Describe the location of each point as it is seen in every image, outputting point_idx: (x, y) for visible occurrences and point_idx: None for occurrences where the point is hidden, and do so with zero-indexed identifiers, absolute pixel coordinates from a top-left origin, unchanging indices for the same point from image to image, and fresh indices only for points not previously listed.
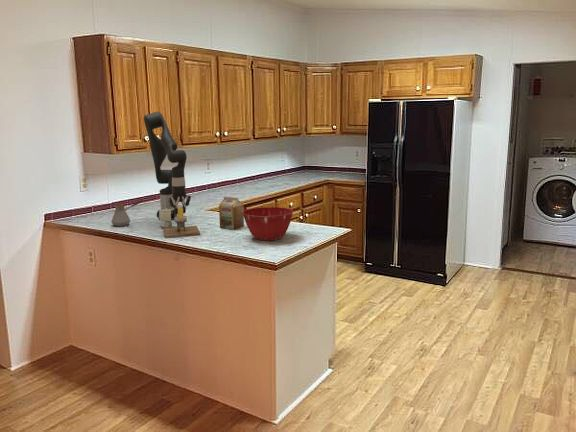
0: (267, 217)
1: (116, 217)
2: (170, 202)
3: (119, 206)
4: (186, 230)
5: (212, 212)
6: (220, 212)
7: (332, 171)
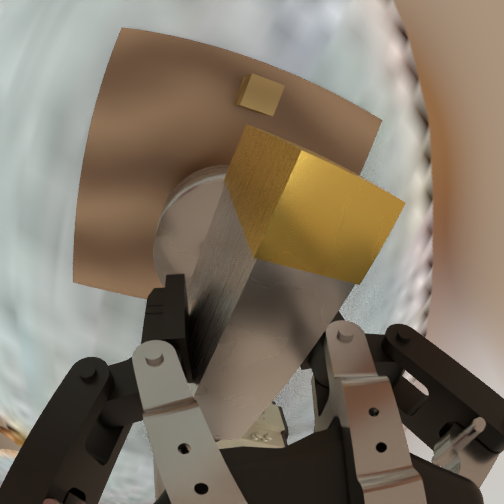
0: None
1: None
2: (474, 383)
3: None
4: (179, 173)
5: (28, 432)
6: None
7: None
